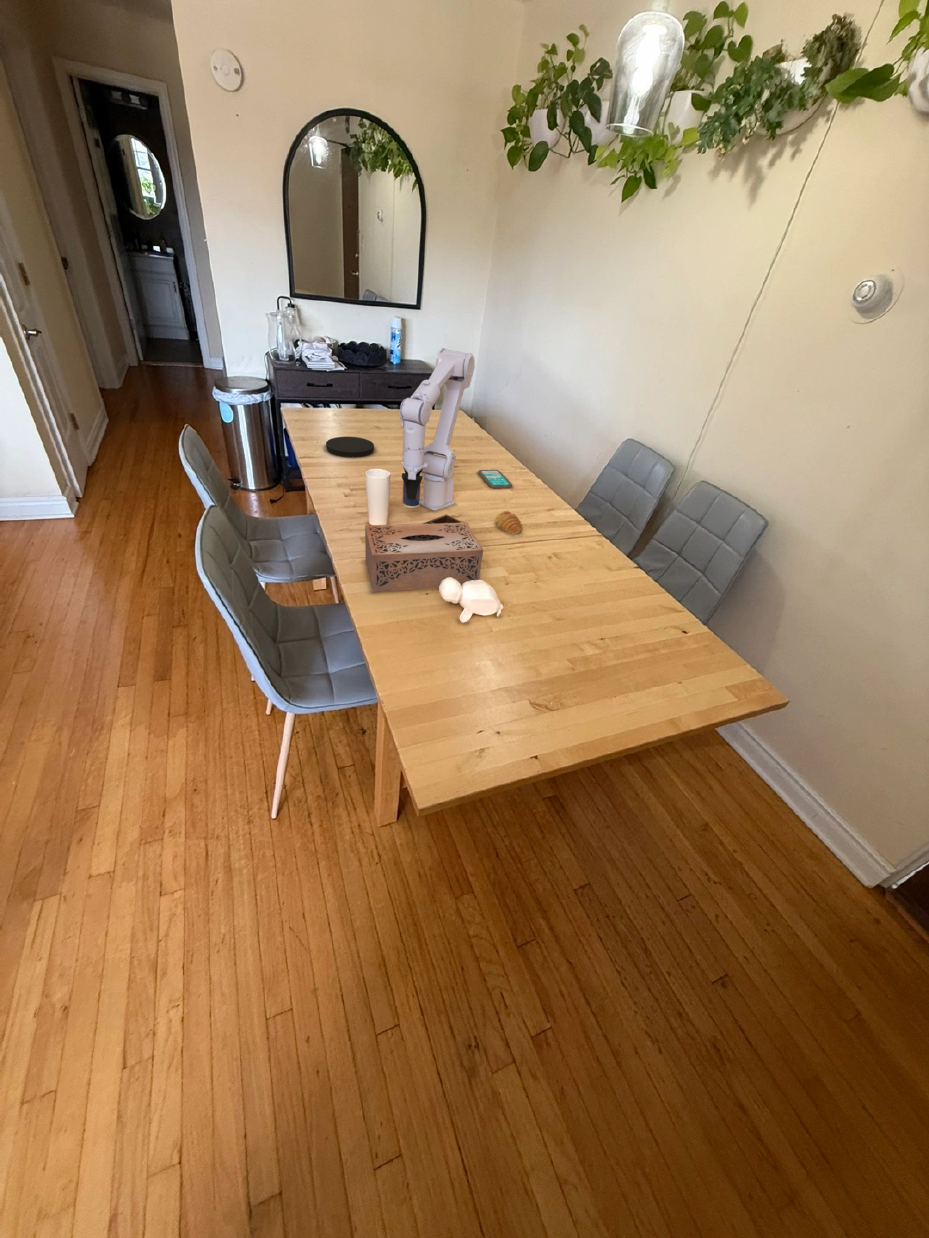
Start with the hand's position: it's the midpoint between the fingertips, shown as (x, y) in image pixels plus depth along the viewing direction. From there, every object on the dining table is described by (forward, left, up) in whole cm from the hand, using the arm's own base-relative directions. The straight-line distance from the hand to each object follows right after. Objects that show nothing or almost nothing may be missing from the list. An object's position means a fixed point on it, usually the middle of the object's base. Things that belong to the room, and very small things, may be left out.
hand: (411, 494), depth 144 cm
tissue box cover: (+17, +22, -9) cm, 30 cm away
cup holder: (-1, +10, -9) cm, 13 cm away
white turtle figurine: (+20, +41, -9) cm, 46 cm away
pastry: (-22, +20, -9) cm, 31 cm away
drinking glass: (+8, -5, -9) cm, 13 cm away
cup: (0, 0, -3) cm, 3 cm away
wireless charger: (-24, -59, -9) cm, 64 cm away
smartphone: (-48, -7, -9) cm, 49 cm away
